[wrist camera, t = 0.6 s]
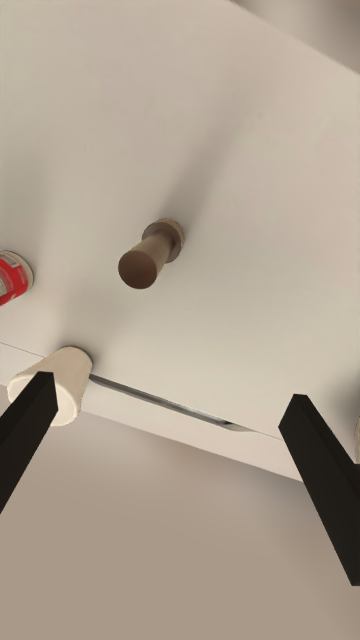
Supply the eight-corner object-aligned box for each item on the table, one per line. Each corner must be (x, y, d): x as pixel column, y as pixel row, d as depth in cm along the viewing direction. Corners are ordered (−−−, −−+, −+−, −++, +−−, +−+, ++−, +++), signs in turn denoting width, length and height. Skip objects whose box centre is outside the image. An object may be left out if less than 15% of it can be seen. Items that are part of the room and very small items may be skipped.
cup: (106, 385, 42) (82, 431, 34) (52, 378, 42) (16, 421, 34) (101, 339, 37) (72, 380, 29) (41, 332, 38) (-4, 370, 29)
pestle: (160, 210, 27) (122, 224, 15) (191, 232, 28) (180, 262, 16) (143, 242, 29) (97, 278, 17) (172, 262, 30) (149, 309, 18)
